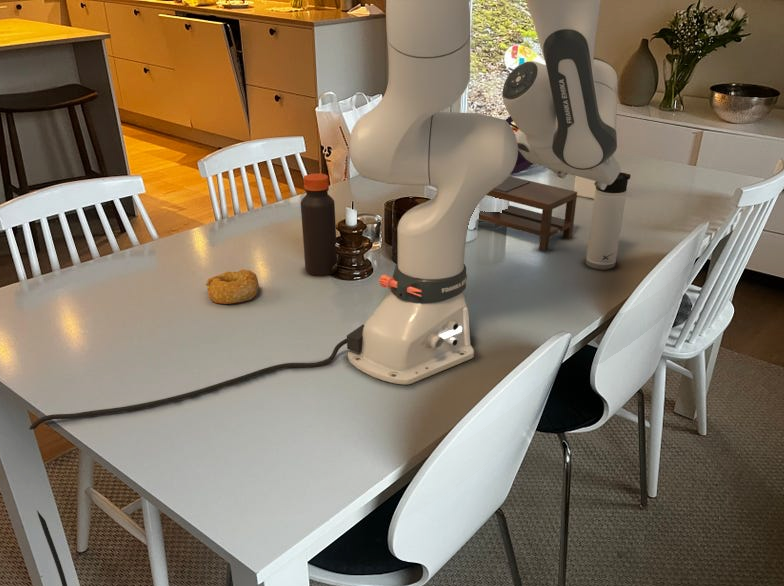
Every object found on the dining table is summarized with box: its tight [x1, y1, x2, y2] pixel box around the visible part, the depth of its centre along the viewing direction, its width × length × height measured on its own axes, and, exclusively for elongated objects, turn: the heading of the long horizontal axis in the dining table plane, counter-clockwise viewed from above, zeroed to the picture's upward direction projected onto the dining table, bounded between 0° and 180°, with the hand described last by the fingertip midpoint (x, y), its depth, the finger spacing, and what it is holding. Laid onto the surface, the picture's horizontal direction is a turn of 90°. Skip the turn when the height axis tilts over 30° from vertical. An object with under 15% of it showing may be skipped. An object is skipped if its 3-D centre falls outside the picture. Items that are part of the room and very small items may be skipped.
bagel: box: [205, 268, 259, 305], centre depth 145 cm, size 10×11×5 cm
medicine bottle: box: [573, 175, 596, 200], centre depth 200 cm, size 7×7×12 cm
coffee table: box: [478, 175, 578, 253], centre depth 174 cm, size 12×22×11 cm, turn 50°
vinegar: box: [300, 172, 338, 277], centre depth 153 cm, size 7×7×20 cm
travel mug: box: [585, 171, 631, 271], centre depth 156 cm, size 6×7×20 cm
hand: (582, 180), depth 144 cm, fingers open, 8 cm apart
